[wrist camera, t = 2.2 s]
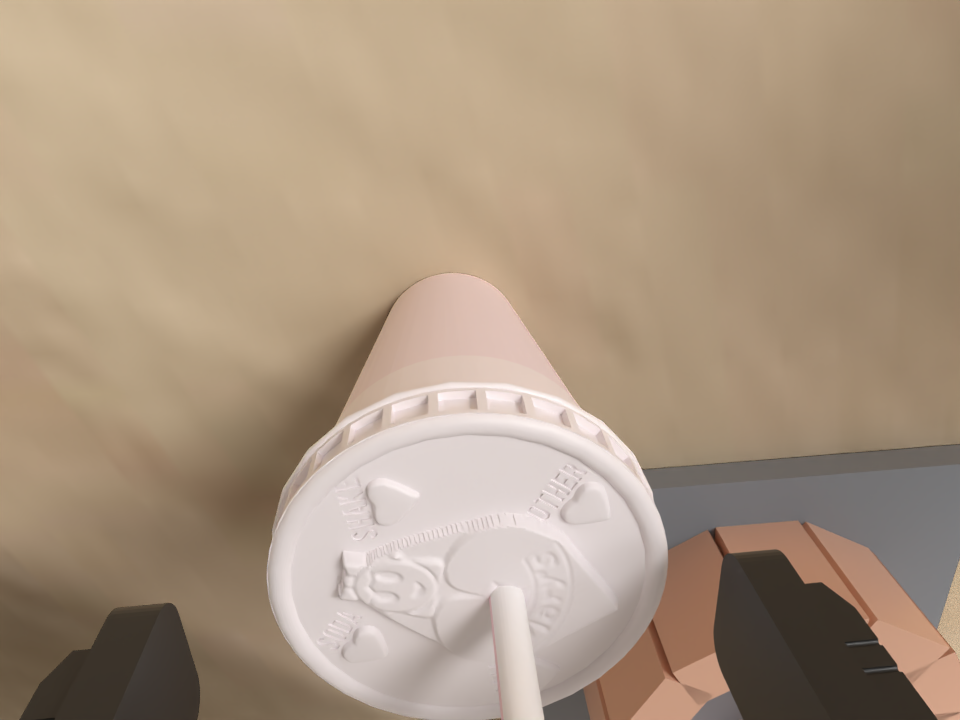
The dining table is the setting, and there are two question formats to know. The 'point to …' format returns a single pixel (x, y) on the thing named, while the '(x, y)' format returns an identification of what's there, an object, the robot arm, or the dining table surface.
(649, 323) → the dining table surface
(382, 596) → the smoothie
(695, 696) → the collar
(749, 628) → the robot arm
